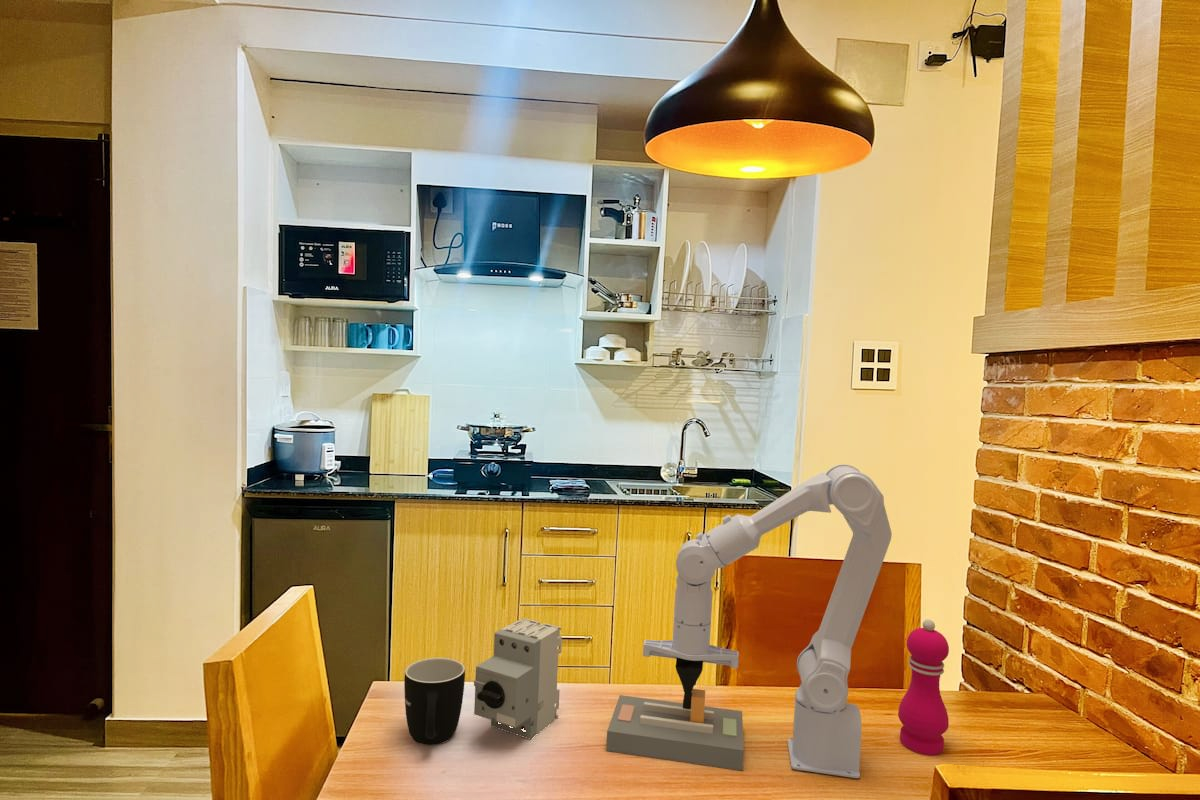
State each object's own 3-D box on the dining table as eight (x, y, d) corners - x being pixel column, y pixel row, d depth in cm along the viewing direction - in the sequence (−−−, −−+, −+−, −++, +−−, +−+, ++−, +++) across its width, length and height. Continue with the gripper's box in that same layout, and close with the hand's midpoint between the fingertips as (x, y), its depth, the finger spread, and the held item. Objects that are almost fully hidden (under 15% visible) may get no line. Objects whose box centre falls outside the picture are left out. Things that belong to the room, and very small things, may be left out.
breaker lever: (703, 718, 107) (705, 690, 107) (703, 727, 104) (704, 698, 104) (691, 716, 107) (692, 688, 107) (690, 725, 105) (691, 696, 104)
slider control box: (741, 729, 110) (742, 705, 110) (742, 770, 99) (744, 743, 99) (619, 712, 114) (620, 689, 114) (606, 750, 102) (607, 724, 102)
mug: (405, 720, 108) (408, 657, 108) (463, 718, 110) (466, 656, 110) (396, 763, 97) (398, 693, 96) (460, 760, 98) (463, 691, 98)
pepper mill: (941, 737, 111) (949, 615, 110) (951, 761, 104) (959, 631, 103) (893, 729, 113) (900, 609, 112) (900, 752, 106) (908, 624, 105)
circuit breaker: (466, 744, 102) (469, 645, 102) (520, 705, 115) (523, 617, 115) (507, 758, 99) (511, 656, 99) (558, 717, 112) (562, 626, 111)
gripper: (739, 616, 108) (734, 700, 109) (648, 605, 111) (644, 688, 111) (740, 632, 101) (735, 722, 102) (643, 620, 104) (638, 708, 104)
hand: (687, 706), depth 106 cm, fingers closed
